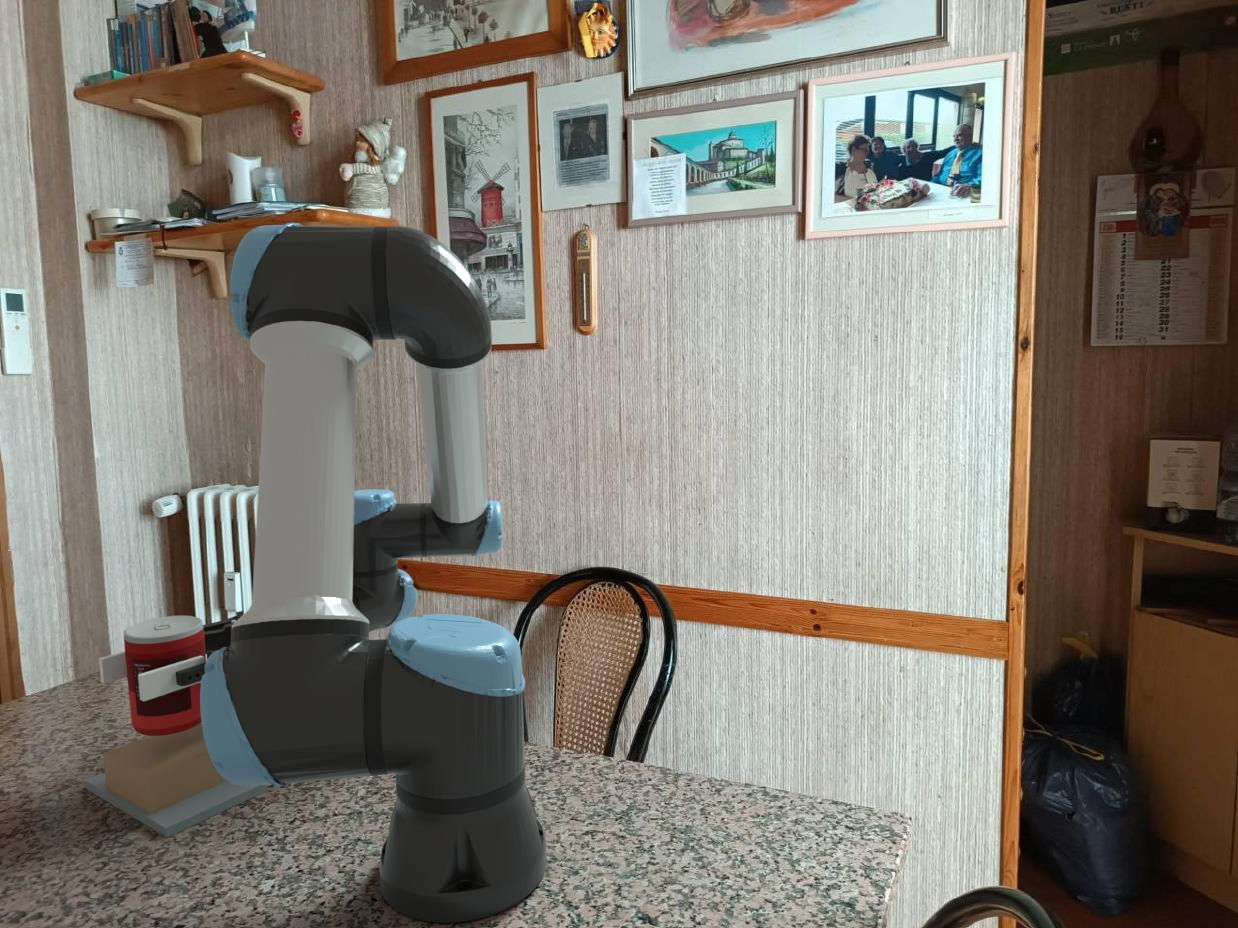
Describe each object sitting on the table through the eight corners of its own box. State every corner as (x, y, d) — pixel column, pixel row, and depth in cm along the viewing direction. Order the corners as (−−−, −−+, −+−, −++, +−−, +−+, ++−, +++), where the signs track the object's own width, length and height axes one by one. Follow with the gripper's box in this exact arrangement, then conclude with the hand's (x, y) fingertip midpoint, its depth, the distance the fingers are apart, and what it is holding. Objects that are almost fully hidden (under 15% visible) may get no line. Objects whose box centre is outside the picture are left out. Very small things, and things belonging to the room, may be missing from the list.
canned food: (189, 701, 94) (181, 610, 93) (224, 717, 90) (217, 623, 88) (118, 724, 88) (109, 628, 87) (152, 744, 83) (143, 642, 82)
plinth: (268, 790, 89) (265, 747, 88) (166, 837, 80) (163, 790, 79) (183, 750, 99) (180, 711, 98) (85, 788, 90) (81, 745, 89)
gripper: (363, 665, 97) (174, 737, 79) (265, 635, 109) (79, 692, 90) (360, 605, 97) (168, 664, 78) (261, 582, 108) (73, 628, 89)
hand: (120, 679), depth 84 cm, fingers closed on canned food, 8 cm apart
